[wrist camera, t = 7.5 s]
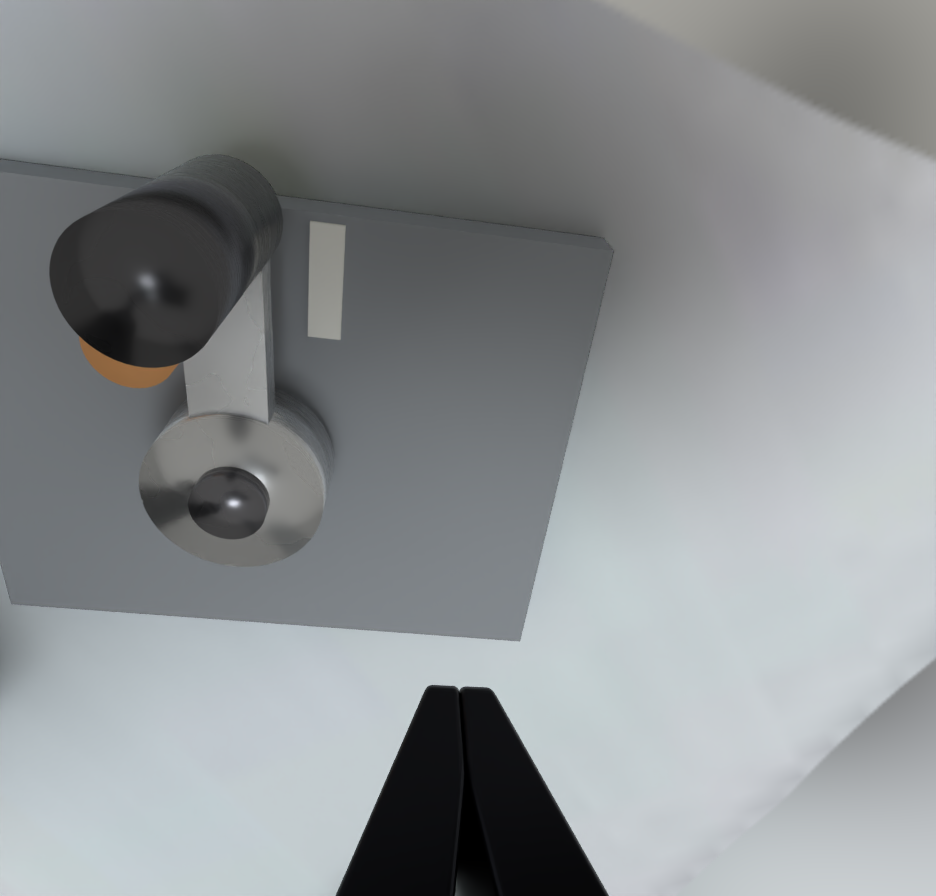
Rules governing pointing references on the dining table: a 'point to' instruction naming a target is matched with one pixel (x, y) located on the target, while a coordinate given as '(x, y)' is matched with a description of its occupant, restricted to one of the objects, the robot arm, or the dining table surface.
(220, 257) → the crank
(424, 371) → the base
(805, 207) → the dining table surface
